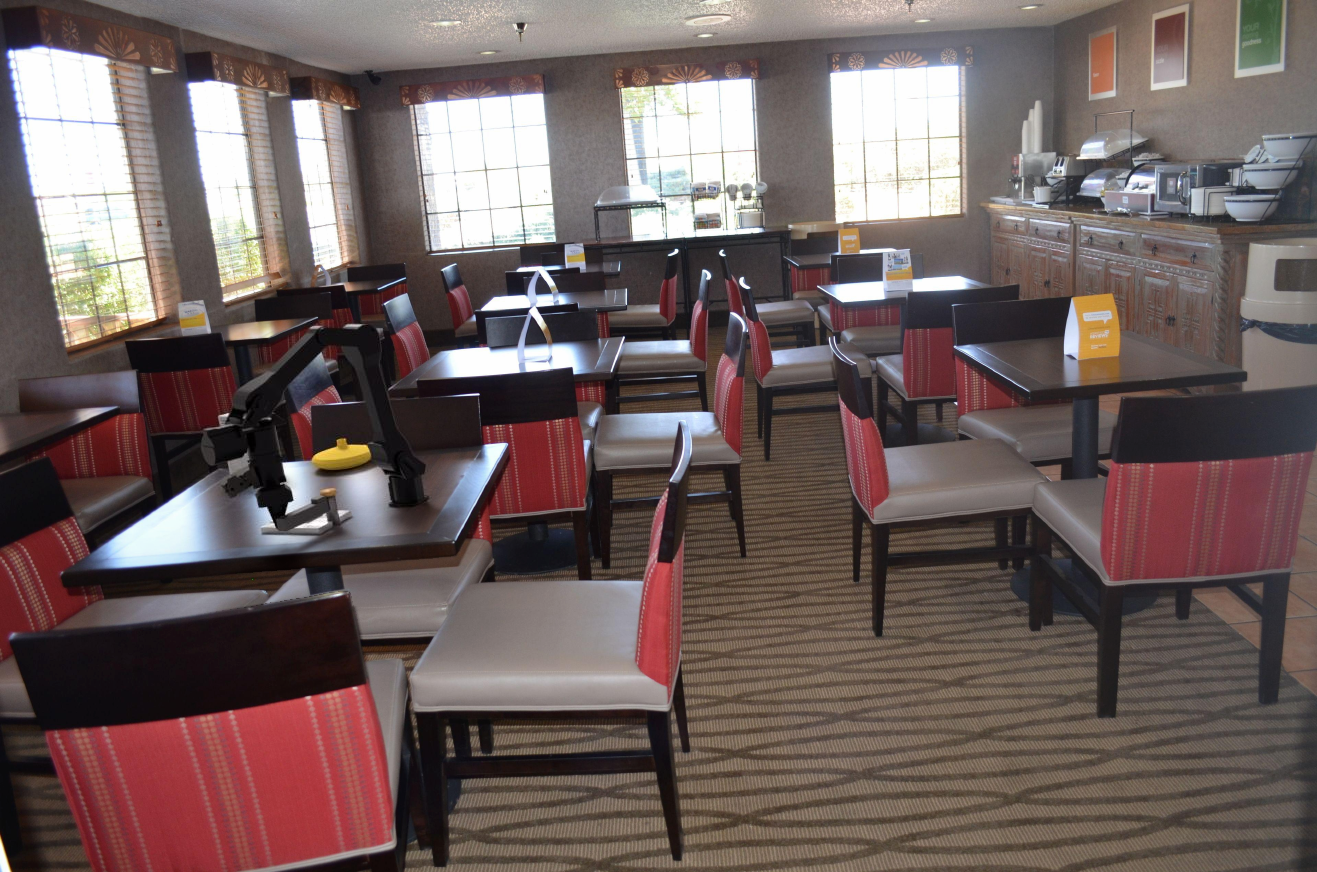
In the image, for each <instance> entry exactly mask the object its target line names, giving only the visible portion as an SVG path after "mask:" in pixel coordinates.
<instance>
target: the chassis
mask: <svg viewBox="0 0 1317 872" xmlns="http://www.w3.org/2000/svg"><path fill="white" fill-rule="evenodd" d="M326 499H327V502H328V508H329V512H327V513H325V514H323V515H321V516H319V517H316V518H314V519H312V520H310V521H308V522H306V523H304V524H302V525H299V526H297V527H295V528H293V529H291V530H289V531H287V532H284V531H278V529H276V527H275V525H274V522H273V520H272V519H271V520H269V522H268V523H266V524H264V525H262V526H260V531H261V534H292V535H293V534H296V535H297V534H302V535H303V534H304V535H305V534H307V535H310V534H311V535H321V534H322V533H324V532H326V531H328V530H330V529H331V528H333V527H337V526H339V525H341V522H343V521H345V520H347V519H349V518H351V517H352V516H353V515H352V510H342V509H340V510H339V509H338V503H337V498H336V494H335V495H333V496H329V497H326ZM295 510H296V509H294V510H293V511H295ZM288 513H289V512H288ZM288 513H287V512H286V514H288ZM286 514H285V515H286Z"/></svg>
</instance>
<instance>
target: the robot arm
mask: <svg viewBox="0 0 1317 872" xmlns="http://www.w3.org/2000/svg"><path fill="white" fill-rule="evenodd" d="M381 343H382V342H381V336H380V332H379V330H378V329H377V328H376V327H375V326H372V325H371V324H367V323H365V324H364V323H363V324H362V323H361V324H360V323H347V324H345V325H344V326H343V327H341V328H340V327H329V326H325V325H313V326H311V327H309V328H308V329H307V330H306V332H305V334H304V335H302V337H301V338H300V339H298V341H296V343H295V344H294V345H293V346H291V347H290V349H289V350H287V352H286V353H284V355H282V357H280V358H279V359H278V361H276V362H275V363H274V364H273V365H272V366H271V367H270V368H269V369H268V370H267V371H266V372H264V373H263V374H261V375H259V376H257V377H256V378H253V379H251V380H250V381H248V382H247V383H245V384H244V385H242V386H240V387H239V388H238V389H236V391H235V392H234V393H233V395H232V406H231V408H230V411H229V415H228V417H227V419H226V421H225V425H224V426H220V425H219V426H216V427H207V428H203V429H202V434H203V436H202V437H201V445H200V450H201V453H202V456H203V458H204V460H205V462H206V464H208V465H209V466H211V467H212V466H217V465H220V464H224V463H228V461H232V460H235V459H239V458H243V456H244V454H246V453H247V452H248V458H249V459H247V462H248V466H246V467H244V468H241V469H239V470H237V471H236V472H234V473H232V474H230V473H229V475H227V476H225V477H223V478H221V479H220V481H219V483H220V486H221V487H222V489H223V490H224V492H225V493H226V495H227V496H228V498H229V499H234V498H235V497H237V496H238V494H240V493H242V492H245V491H246V490H248V489H250V488H251V487H252V489H253V490H255V489H258V490H257V491H256V493H255V494H254V496H255V498H256V503H257V506H258V507H257V508H258V509H265V508H266V509H267V511H268V514H269V516H270V518H271V520H273V522H274V525H275V527H276V529H278V527H277V521H276V519H277V518H279V517H281V516H283V515H285V514H286V513H287V509H288V505H289V503H292V502H294V501H295V499H294V495H293V491H292V489H291V487H290V486H289V485H287V484H286V483H287V482H288V481H287V476H286V474H285V469H284V468H285V467H284V464H283V463H284V460H283V456H282V453H281V448H280V443H279V439H278V438H279V437H278V432H277V429H276V427H278V426H282V425H285V424H287V421H286V420H285V419H284V418H283V417H280V416H279V415H277V413H274V411H275V410H276V409H277V407H278V406H279V405H280V403H281V402H282V400H283V396H284V393H285V391H286V389H287V388H288V386H290V384H292V383H293V381H294V380H295V379H296V378H297V377H298V376H299V375H300V374H301V373H302V372H304V370H306V368H307V367H308V366H309V365H310V364H311V363H312V362H313V361H314V360H315V359H316V358H317V357H318V356H319V355H320V354H321V353H322V352H323V351H325V349H326V348H327V347H329V346H332V347H333V346H335V347H340V348H341V350H342V352H343V354H344V356H345V358H346V359H347V360H348V361H349V363H350V364H351V365H352V366H353V368H354V369H355V372H356V375H357V378H358V379H357V380H358V382H359V385H360V389H361V392H362V395H363V398H364V402H365V407H366V409H367V412H368V416H369V420H370V424H371V425H372V430H373V437H372V438H373V439H372V441H371V442H367V443H366V445H367V447H368V449H369V451H370V453H371V459H370V461H371V462H374V464H375V466H376V467H378V468H380V469H381V470H382V472H383V474H384V475H385V476H388V483H387V485H388V492H389V499H390V501H391V502H388V506H390V507H395V506H396V507H399V506H401V507H413V506H414V507H415V506H417V505H418V504H420V503H422V502H423V501H425V500H426V499H428V498H429V497H430V495H429V494H425V490H424V484H423V478H422V477H423V476H424V475H425V474H426V466H427V465H426V463H425V462H423V461H421V460H420V459H418V458H417V457H416V456H414V453H413V450H412V449H411V445H410V444H409V442H408V440H407V439H406V438H405V436H404V435H403V433H401V431H400V430H399V428H398V426H397V422H396V419H395V416H394V411H393V408H392V405H391V402H390V398H389V394H388V391H387V388H386V383H385V382H384V381H385V380H384V378H383V374H382V371H381V367H380V361H381V355H382V344H381ZM244 416H246V417H245V419H244V418H243V417H244ZM262 418H264V419H262ZM422 475H423V476H422Z"/></svg>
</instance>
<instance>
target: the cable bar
mask: <svg viewBox="0 0 1317 872" xmlns="http://www.w3.org/2000/svg"><path fill="white" fill-rule="evenodd" d="M337 494H338V491H337V488H334V487H333V488H332V487H331V488H326V489H325V488H324V489H322V490H320V491H319V495H317V496H315V497H313V498H310V503H308V504H306V505H304V506H302V507H298V508H297V509H294V510H295V511H294V510H291V512H288V514H286V515H283V516H281V517H279V518H277V519H276V521H277V527H278V531H284V532H287V531H289V530H291V529H293V528H295V527H297V526H299V525H302V524H304V523H306V522H308V521H310V520H312V519H314V518H316V517H319V516H321V515H323V514H325V513H327V512H329V508H328V502H327V499H326V497H329V496H333V495H335V496H336V495H337Z"/></svg>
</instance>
